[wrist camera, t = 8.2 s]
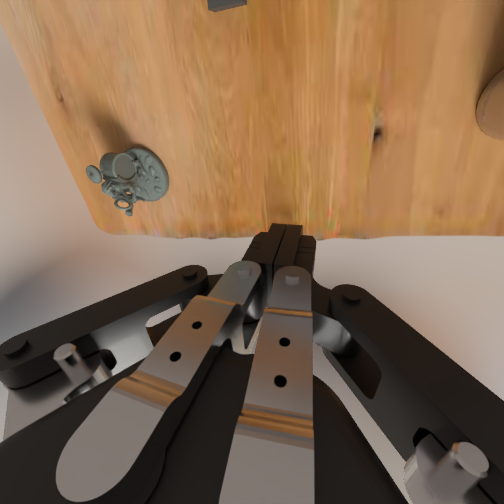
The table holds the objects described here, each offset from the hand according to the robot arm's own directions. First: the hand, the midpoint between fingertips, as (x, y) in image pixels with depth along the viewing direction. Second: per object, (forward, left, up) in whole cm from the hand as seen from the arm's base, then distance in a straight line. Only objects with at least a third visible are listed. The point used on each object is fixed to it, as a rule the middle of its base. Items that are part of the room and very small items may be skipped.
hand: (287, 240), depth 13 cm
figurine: (+34, +6, -33) cm, 48 cm away
